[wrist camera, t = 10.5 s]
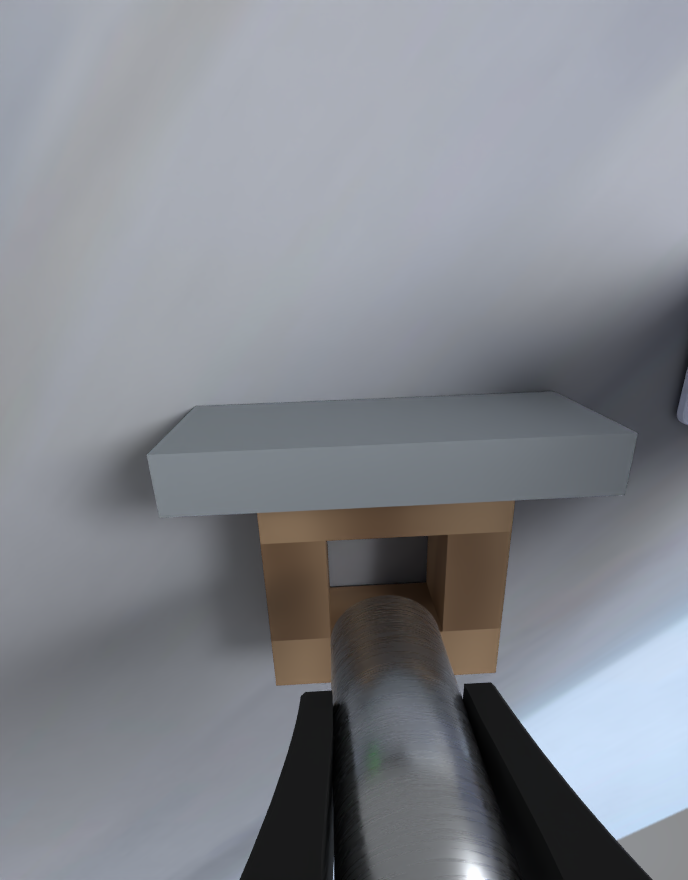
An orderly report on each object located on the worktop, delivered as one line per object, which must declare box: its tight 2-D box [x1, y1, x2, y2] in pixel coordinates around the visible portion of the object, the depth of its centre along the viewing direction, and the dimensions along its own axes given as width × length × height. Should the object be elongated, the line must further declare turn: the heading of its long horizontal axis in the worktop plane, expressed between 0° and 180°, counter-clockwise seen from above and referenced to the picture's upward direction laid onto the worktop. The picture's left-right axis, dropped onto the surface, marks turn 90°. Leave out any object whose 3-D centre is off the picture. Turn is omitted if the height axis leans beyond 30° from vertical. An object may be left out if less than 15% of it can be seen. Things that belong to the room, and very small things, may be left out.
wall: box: [147, 391, 638, 518], centre depth 15 cm, size 14×2×5 cm, turn 92°
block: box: [257, 501, 515, 686], centre depth 18 cm, size 9×9×3 cm
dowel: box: [331, 595, 523, 880], centre depth 9 cm, size 3×3×7 cm
